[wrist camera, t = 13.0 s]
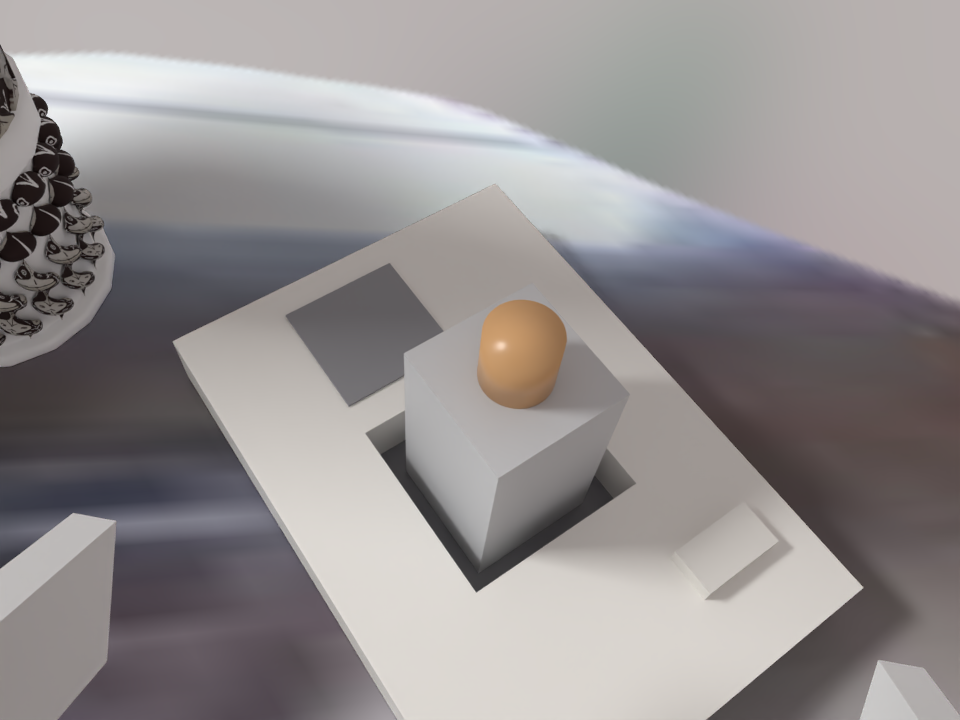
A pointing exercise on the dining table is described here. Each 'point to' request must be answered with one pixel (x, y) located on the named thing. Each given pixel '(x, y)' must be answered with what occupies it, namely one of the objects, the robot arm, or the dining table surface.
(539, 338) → the egg topped pedestal
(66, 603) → the robot arm
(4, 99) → the decorative candle
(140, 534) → the dining table surface
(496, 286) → the socket plate
